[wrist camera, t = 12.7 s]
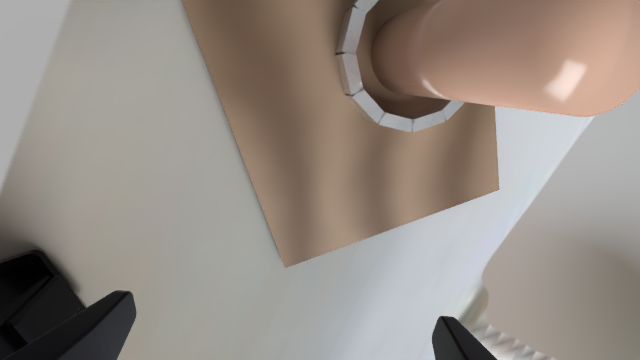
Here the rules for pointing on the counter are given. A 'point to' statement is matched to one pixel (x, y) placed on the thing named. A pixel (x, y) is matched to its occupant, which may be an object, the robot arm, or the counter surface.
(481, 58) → the beige rounded cylinder
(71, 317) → the robot arm
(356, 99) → the steel collar
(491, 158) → the walnut board
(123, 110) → the counter surface
